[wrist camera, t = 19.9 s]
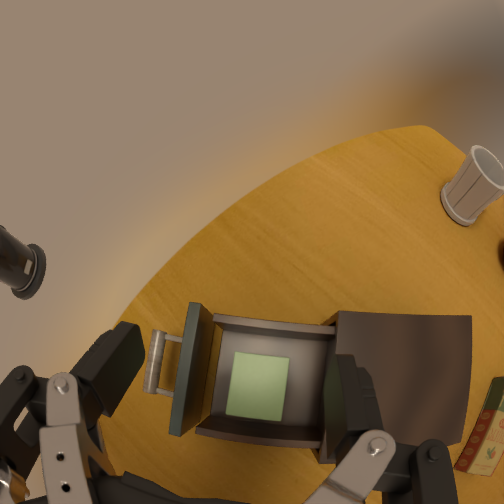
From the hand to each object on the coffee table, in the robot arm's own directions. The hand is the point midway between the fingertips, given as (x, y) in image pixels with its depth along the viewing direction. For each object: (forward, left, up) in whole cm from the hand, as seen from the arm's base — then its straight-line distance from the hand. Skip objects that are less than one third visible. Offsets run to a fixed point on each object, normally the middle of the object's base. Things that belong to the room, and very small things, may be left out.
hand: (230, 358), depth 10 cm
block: (+1, -2, -20) cm, 21 cm away
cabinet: (+16, -2, -22) cm, 27 cm away
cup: (+35, +28, -23) cm, 50 cm away
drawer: (-1, -2, -22) cm, 22 cm away
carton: (+40, -12, -23) cm, 47 cm away
